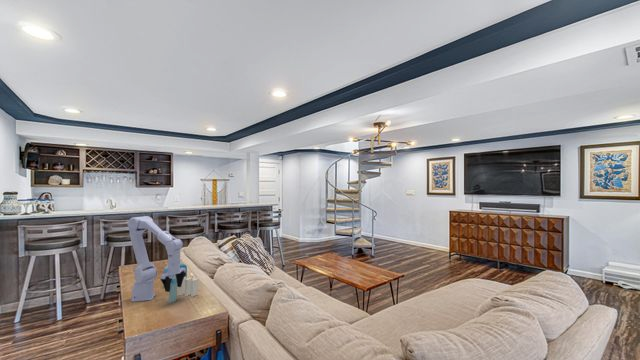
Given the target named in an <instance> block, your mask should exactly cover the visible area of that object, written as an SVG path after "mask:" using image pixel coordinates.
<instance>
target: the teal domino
mask: <svg viewBox="0 0 640 360" xmlns="http://www.w3.org/2000/svg"><path fill="white" fill-rule="evenodd" d="M168 295H169V296H168V304H172V303H174V302H177V301H178V287H177V283H174V284H171V285H170V291H169V292H168ZM176 300H177V301H176ZM171 302H172V303H171Z"/></svg>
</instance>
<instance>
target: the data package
mask: <svg viewBox="0 0 640 360" xmlns="http://www.w3.org/2000/svg"><path fill="white" fill-rule="evenodd" d="M180 268H186V272H185V273H186V275H185V277H187V276H188V266H187V265H186V264H185V263H180ZM166 272H168V265H166V266H165V267H163V274H164V273H166ZM169 278H171V279H172V280H171V284H174V283H177V279H176V275H173V276H170V277H169ZM187 278H188V277H187ZM171 284H170V285H171Z"/></svg>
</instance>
